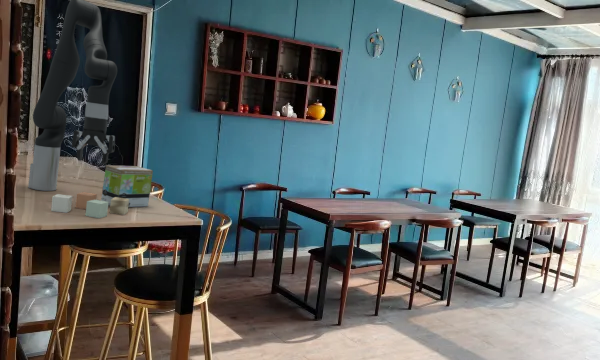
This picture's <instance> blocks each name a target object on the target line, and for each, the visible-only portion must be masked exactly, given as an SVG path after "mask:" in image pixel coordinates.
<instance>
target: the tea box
mask: <svg viewBox="0 0 600 360" xmlns="http://www.w3.org/2000/svg"><path fill="white" fill-rule="evenodd" d="M153 172H154V171H153V170H152V169H149V168H145V167H142V166H138V165H137V166H136V165H111V164H110V165H107V164H105V169H104V176H103V184H102V192H101V199H100V200H101V201H106V202H109V203H108V207H110V205H111V199H113V198H114V197H118V198H125V199H129V205H128V208H131V207H133V208H134V207H139V208H140V207H148V206H149V202H150V201H149V200H150V195H151V187H152V182H153V181H152V180H153Z"/></svg>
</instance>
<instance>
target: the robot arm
mask: <svg viewBox="0 0 600 360" xmlns="http://www.w3.org/2000/svg"><path fill="white" fill-rule="evenodd" d="M102 23H103V22H102V14H101V10H100V8H99V7H98V6H97V5H95V4H93V3H91V2H89V1H87V0H69V3H68V4H67V7H66V11H65V16H64V19H63V24H62V28H61V32H60V35H59V36H60V37H59V41H58V43H57V46H56V49H55V51H54V55H53V57H52V61H51V62H50V68H49V71H48V74H47V77H46V79H45V83H44V86H43V89H42V91H41V93H40V96H39V98H38V100H37V103H36V105H35V107H34V109H33V114H32V120H33V123H34V125H35V126H36V127H37V128H38V129H43V132H42V133H41V134H39V136H36V138H34V147H33V159H32V160H33V161H32V163H30V167H29V175H28V176H29V177H28V185H27V186H28V187H27V188H28V189H32V190H36V191H43V192H44V191H47V192H48V191H52V192H53V191H56V190H57V186H58V176H59V167H60V166H59V165H60V155H61V147H62V142H63V141H64V138H65V132H66V126H67V114H66V111H65V110H64V108H63V107H61V106H58V105H57V104H58V102H59V100H60V97H61V96H62V94H63V92H65V91H66V89H67V88H68V87H69V86H70V85H72V83H73V81H74V79H75V78H76V75H77V73H78V69H79V67H80V63H81V59H80V54H79V51H78V48H77V44H76V40H75V29H76V26H77V25H78V26H80V27H81V26H82V27H83V28H87V29H89V32H88V33H87V34H86V35H85V37H84V39H83V41H82V42H83V48H84V49H83V50H84V53H85V57H86V58H85V65H84V73H85V75H86V76H87V77H89V78H90V79H94V80H101V81H102V82H101V84H100V85H90V86H89V87H88V90H87V97H86V98H87V99H86V106H85V111H84V123H83V129H82V130H83V131H80V130H74V131H73V133H72V134H73V135H72V141H71V147H72V148H75V149H76V159H77V161H78V162H79V161H83V155H84V148H85V147H86V146H88V145H89V146H94V147H99V148H100V149H101V150H102V152H103V153H102V155H101V156H102V157H101V164H102V165H107V163H108V161H109V154H111V153H114V152H115V147H116V136H115V135H112V134H111V135H107V130H108V129H107V128H108V119H109V100H110V95H111V94H110V93H111V91H112V87H113V84H114V82H115V79H116V77H117V76H118V75H117V74H118V67H117V63H115V62H114V61H112V60H108V52H107V48H106V46H105V43H104V37H103V25H102ZM81 136H82V137H83V140H82V141H80V138H81ZM106 140H107V142H108V146H107V144H106V142H105V141H106ZM79 142H80V143H79Z"/></svg>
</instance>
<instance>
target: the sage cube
mask: <svg viewBox="0 0 600 360" xmlns="http://www.w3.org/2000/svg"><path fill="white" fill-rule="evenodd" d="M108 203H109V202H106V201H101V199H96V200H91V201H87V205H86V209H85V216H87V217H91V218H95V219H102V218H105V217H107V216H108V212H109V210H108V209H109V205H108Z"/></svg>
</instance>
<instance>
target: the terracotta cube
mask: <svg viewBox="0 0 600 360" xmlns="http://www.w3.org/2000/svg"><path fill="white" fill-rule="evenodd" d="M97 195H98V194H97V193H91V192H85V191H82V192H78V193H77V194H76V199H75V208H76V209H82V210H86V205H87V201H91V200H97Z"/></svg>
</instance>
